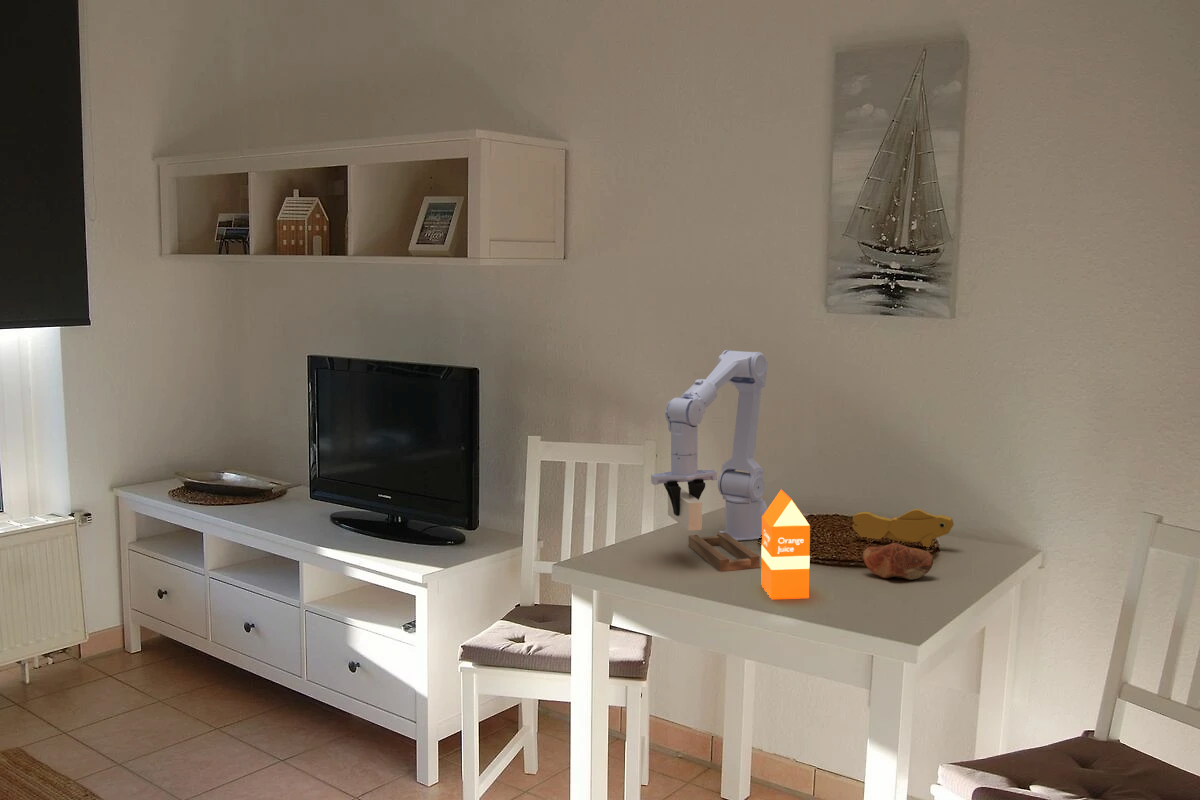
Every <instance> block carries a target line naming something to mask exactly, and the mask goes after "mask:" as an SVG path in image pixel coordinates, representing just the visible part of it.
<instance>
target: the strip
mask: <svg viewBox="0 0 1200 800" xmlns="http://www.w3.org/2000/svg"><path fill="white" fill-rule="evenodd" d="M667 515H668V516H669V517H670V518H671V519H673V520H674V521H675V522H676V523H678V524H679V525H680V526H682V527H683V528H684V529H686V530H687V531H688V532H689V531H701V530H703V502H702V501H701V500H700V499H699V500H698V499H696V498H695V497H694V496H692V495H691V494H689V491H686V490H684V489H683V488H682V487H681V492H680V515H679V516H676V515H675V514H674V512H673V507H672V503H671V500H670V497H669V495H668V494H667Z"/></svg>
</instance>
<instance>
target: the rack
mask: <svg viewBox="0 0 1200 800" xmlns="http://www.w3.org/2000/svg"><path fill="white" fill-rule="evenodd" d="M715 546H720V547H721V548H722V549H723V550H725V551H726V552H728V553H729V554H730V555H732V556H733V557H735V558H736V559H730V558H728V557H727V556H725V555H724V554H723V553H721V551H719V550H717V549H716V548H715ZM688 547H689V548H690V549H692V550H693V551H694V552H695V553H696V554H698V555H699V556H700V557H702V558H703V560H705V561H707V562H708V563H709V564H710V565H712V566H713V567H714V568H715V569H716V570H718V571H719V572H727V571H729V572H730V571H738V570H749V569H759V568H761V567H760V565H761V563H760V561H761V556H760V555H759V554H757V553H756V552H754V551H753V550H751V549H750V548H749V547H747V546H746V545H744V544H743V543H741V542H740V541H737V540H736V539H734V538H733V537H731V536H730V535H728V534H727V533H725V532H723V533H719V532H717V533H716V535H712V536H699V535H698V534H690V535H688Z"/></svg>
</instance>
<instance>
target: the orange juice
mask: <svg viewBox="0 0 1200 800" xmlns="http://www.w3.org/2000/svg"><path fill="white" fill-rule="evenodd" d="M810 542H811V525H810V524H809V522H808V521H807V519H806V517H805V516H804V515H803V514H802V512H801V510H800V509H799V508H798V507H797V504H796V503H795V502H794V501H793V499H792V498H791V497H790V496H789V495H788V494H787V493H786V492H784V491H783V490H782V489H780V491H778V493H777V495H776V496H775V498H774V499H773V500H772V502H771V503H770V504H769V506H767V510H766V512H765V513H764V515H763V516H762V539H761V552H760V553H761V556H760V558H761V564H760V565H761V567H760V568H761V571H760V572H761V577H760V578H761V579H760V581H761V582H760V583H761V585H762V586H761V587H762V589H763V588H764V589H763V590H764V591H765V593H766V592H767V593H766V594H767V596H768V595H769V596H768V597H769V599H770V598H771V599H770V600H792V599H793V600H794V599H795V600H796V599H798V600H799V599H809V598H810V567H811V566H810V560H811V556H810V549H811V548H810V545H811V543H810Z"/></svg>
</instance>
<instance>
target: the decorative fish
mask: <svg viewBox="0 0 1200 800" xmlns="http://www.w3.org/2000/svg"><path fill="white" fill-rule="evenodd" d="M852 521H853V523H854V524H852V529H853V530H854V531H855V532H856V533H857V535H858V536H859V537H860V538H861V537H867V538H875V539H880V540H881V539H882V538H887V539H890V540H893V541H897V542H899V541H903V542H902V543H904V542H910V543H909V544H912V543H917V542H918V543H919V542H921V545H922V547H924V546H926V547H930V545H931V546H932V544H933V543H934V540H935V539H936V538H939V537H943V536H945V535H948V534H949V533H950V531H951V530H952V528H953V527H954V520H953V518H952V517H950V516H946V515H944V514H940V515H934V514H932V513H928V512H926V511H925V510H923V509H920V508H915V509H911V510H909V511H908V512H906V513H904V514H902V515H900V516H898V517H897V516H894V517H893V518H888V517H884V516H881V515H880V516H879V515H877V514H874V513H873V512H869V511H862V512H857V513H855V514H853V516H852ZM930 548H931V547H930Z"/></svg>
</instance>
